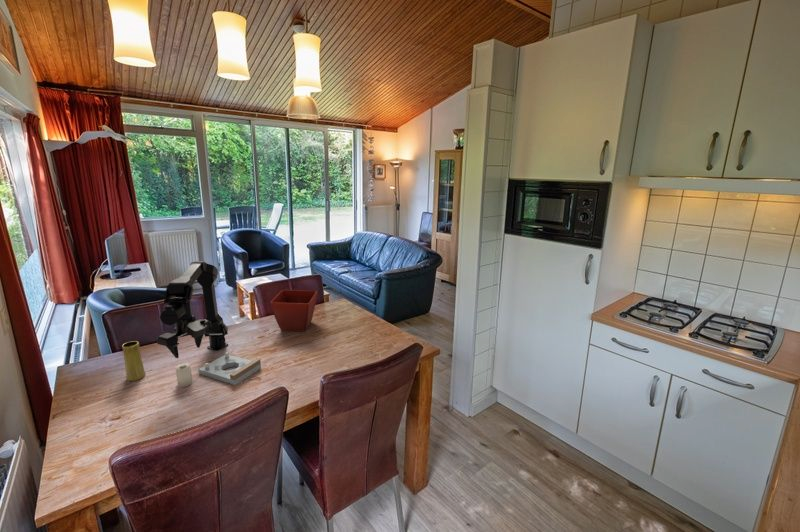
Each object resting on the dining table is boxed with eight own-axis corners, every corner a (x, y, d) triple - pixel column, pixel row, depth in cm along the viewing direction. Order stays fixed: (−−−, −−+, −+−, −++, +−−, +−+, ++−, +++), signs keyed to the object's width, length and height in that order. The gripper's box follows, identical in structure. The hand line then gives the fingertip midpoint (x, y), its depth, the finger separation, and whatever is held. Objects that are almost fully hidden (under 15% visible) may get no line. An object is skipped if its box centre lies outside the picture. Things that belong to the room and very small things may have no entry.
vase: (149, 374, 150) (143, 341, 146) (134, 382, 144) (128, 348, 140) (138, 371, 152) (132, 339, 148) (122, 379, 146) (116, 346, 142)
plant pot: (309, 334, 188) (308, 303, 183) (272, 333, 188) (269, 302, 183) (318, 319, 206) (317, 290, 202) (283, 318, 206) (282, 289, 202)
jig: (199, 373, 151) (198, 364, 150) (226, 358, 164) (226, 349, 162) (234, 385, 144) (233, 375, 143) (261, 367, 157) (260, 359, 155)
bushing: (174, 384, 143) (172, 368, 141) (186, 378, 148) (184, 362, 146) (184, 388, 141) (181, 371, 139) (195, 381, 146) (193, 365, 144)
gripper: (175, 327, 127) (181, 368, 131) (219, 309, 144) (223, 346, 148) (152, 321, 131) (159, 362, 135) (198, 304, 148) (202, 341, 152)
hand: (188, 352), depth 142 cm, fingers open, 9 cm apart
